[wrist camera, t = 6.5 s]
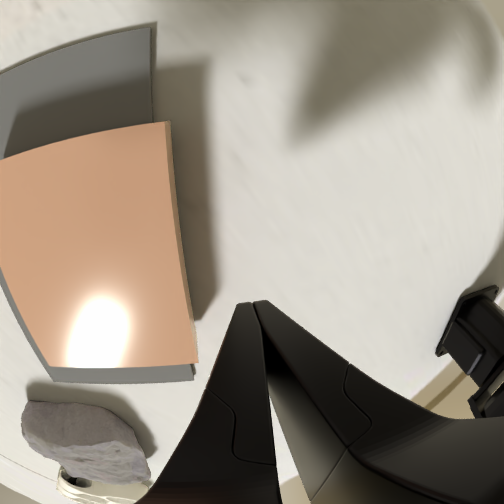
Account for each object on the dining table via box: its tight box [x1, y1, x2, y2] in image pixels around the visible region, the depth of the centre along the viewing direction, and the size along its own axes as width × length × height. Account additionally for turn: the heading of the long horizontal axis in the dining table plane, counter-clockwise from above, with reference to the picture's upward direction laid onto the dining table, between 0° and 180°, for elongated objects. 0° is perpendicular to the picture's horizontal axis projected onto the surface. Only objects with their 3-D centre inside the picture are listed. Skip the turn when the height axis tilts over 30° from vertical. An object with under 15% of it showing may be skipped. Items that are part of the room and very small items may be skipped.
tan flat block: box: [0, 121, 198, 368], centre depth 10 cm, size 2×10×8 cm
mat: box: [0, 27, 194, 384], centre depth 11 cm, size 10×18×1 cm, turn 1°
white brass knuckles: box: [56, 469, 148, 504], centre depth 25 cm, size 3×18×15 cm
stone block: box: [21, 400, 151, 485], centre depth 18 cm, size 12×5×10 cm
